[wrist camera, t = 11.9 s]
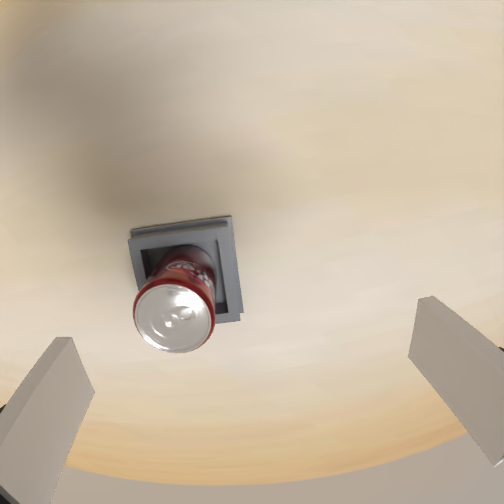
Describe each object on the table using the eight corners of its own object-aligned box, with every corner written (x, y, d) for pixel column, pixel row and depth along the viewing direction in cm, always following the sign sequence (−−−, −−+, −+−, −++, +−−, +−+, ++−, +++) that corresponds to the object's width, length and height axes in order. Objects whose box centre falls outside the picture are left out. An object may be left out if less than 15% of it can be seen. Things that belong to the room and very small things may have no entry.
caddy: (132, 229, 36) (122, 236, 32) (231, 215, 36) (232, 221, 32) (152, 319, 39) (146, 334, 35) (243, 309, 39) (245, 323, 36)
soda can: (173, 309, 38) (156, 365, 26) (147, 258, 36) (115, 298, 24) (227, 288, 37) (229, 340, 26) (202, 234, 35) (192, 266, 24)
